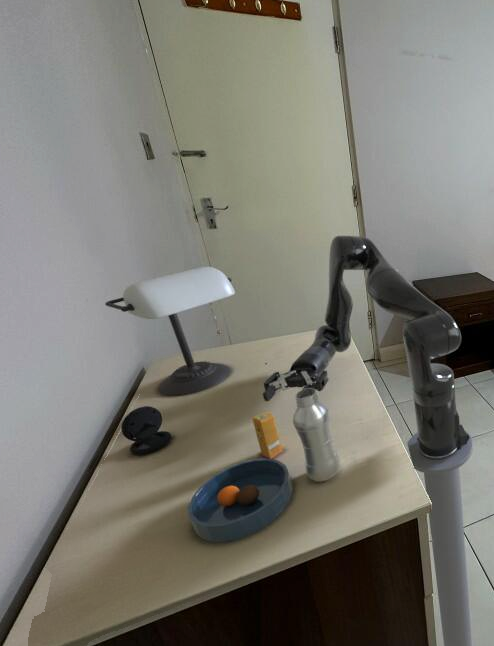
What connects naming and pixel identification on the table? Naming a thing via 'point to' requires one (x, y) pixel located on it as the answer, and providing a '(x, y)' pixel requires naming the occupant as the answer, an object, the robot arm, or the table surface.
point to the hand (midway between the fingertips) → (283, 397)
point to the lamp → (168, 300)
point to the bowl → (237, 519)
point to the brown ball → (247, 495)
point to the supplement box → (267, 434)
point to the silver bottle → (315, 436)
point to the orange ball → (228, 496)
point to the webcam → (145, 430)
